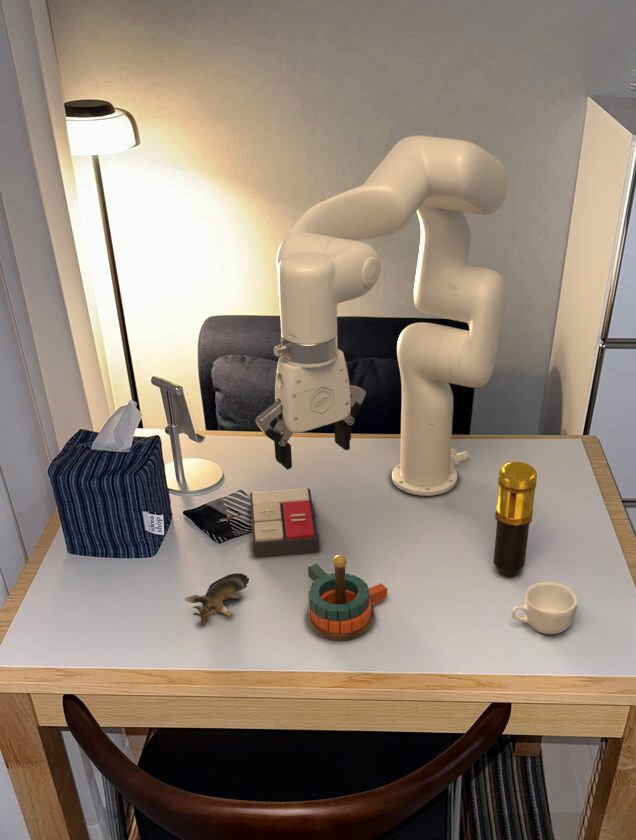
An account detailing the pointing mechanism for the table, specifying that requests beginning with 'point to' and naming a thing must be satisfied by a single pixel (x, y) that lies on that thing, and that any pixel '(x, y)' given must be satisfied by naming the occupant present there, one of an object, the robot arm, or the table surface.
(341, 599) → the peg stand
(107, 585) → the table surface
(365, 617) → the orange ring
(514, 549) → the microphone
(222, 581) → the eagle figurine
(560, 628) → the teacup
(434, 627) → the table surface
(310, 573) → the teal ring
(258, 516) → the calculator
